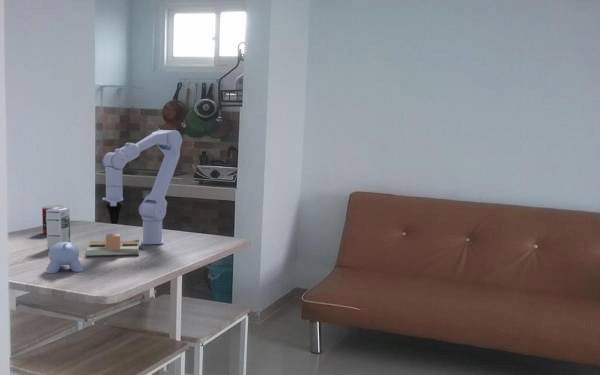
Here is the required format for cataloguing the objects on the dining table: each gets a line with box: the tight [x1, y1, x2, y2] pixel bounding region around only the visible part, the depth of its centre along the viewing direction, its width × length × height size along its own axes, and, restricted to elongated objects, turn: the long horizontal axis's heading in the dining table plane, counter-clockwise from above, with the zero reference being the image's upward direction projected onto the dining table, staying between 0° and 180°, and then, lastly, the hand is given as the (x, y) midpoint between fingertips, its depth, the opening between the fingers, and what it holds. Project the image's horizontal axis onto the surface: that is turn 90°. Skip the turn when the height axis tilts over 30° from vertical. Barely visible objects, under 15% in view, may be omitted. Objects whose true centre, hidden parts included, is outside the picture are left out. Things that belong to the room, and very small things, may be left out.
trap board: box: [86, 239, 140, 258], centre depth 215 cm, size 16×17×2 cm
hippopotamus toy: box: [45, 241, 84, 274], centre depth 188 cm, size 11×15×10 cm
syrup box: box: [46, 207, 71, 250], centre depth 217 cm, size 6×6×14 cm
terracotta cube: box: [105, 233, 121, 250], centre depth 208 cm, size 4×4×4 cm
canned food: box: [41, 204, 64, 235], centre depth 246 cm, size 8×8×11 cm
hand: (114, 223), depth 218 cm, fingers closed
